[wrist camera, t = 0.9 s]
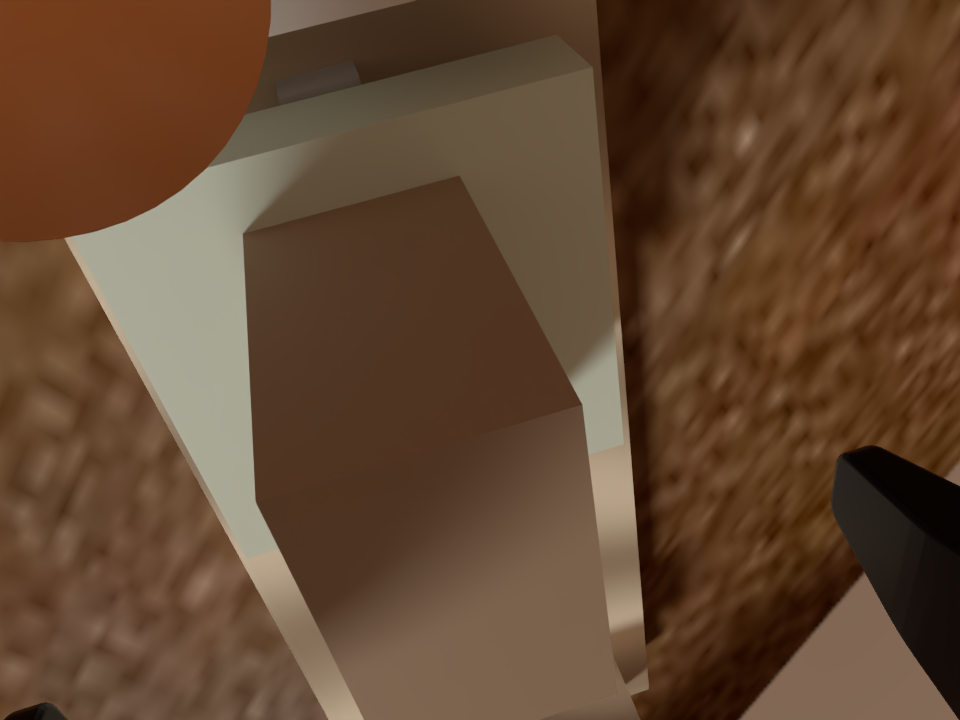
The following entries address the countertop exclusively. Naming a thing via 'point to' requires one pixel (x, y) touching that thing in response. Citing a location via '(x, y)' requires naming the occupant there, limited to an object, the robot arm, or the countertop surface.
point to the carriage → (403, 371)
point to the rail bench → (573, 17)
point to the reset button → (117, 104)
